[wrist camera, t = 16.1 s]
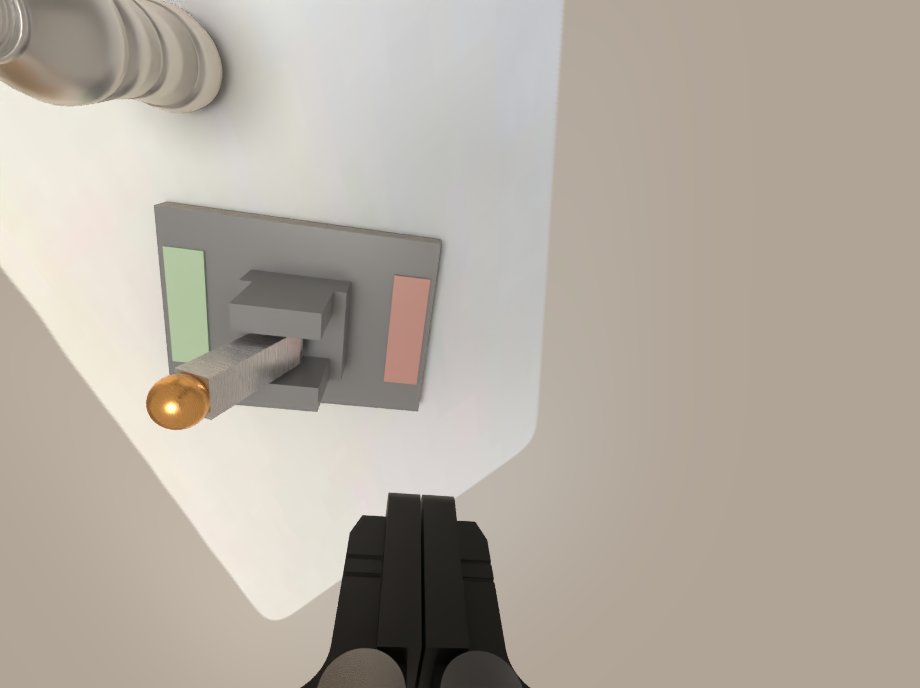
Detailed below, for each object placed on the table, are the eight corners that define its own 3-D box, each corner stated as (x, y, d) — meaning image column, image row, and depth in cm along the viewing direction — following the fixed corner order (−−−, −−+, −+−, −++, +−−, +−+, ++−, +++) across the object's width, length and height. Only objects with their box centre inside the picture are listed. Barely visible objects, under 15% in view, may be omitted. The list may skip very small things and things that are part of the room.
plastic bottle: (176, -14, 33) (-119, -191, 15) (252, 76, 36) (77, 21, 17) (114, 50, 34) (-231, -39, 16) (191, 134, 37) (-32, 138, 19)
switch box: (166, 201, 39) (88, 224, 29) (440, 239, 41) (446, 270, 32) (180, 378, 45) (120, 442, 36) (418, 400, 48) (418, 464, 39)
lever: (278, 314, 38) (128, 380, 26) (314, 324, 37) (177, 397, 25) (277, 351, 39) (135, 430, 27) (312, 361, 38) (181, 447, 27)
